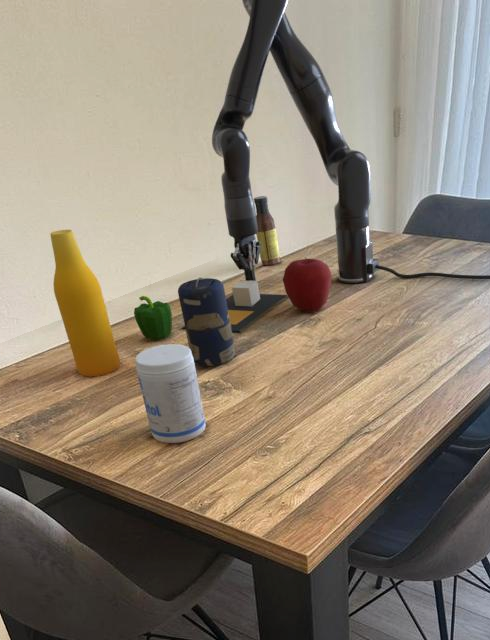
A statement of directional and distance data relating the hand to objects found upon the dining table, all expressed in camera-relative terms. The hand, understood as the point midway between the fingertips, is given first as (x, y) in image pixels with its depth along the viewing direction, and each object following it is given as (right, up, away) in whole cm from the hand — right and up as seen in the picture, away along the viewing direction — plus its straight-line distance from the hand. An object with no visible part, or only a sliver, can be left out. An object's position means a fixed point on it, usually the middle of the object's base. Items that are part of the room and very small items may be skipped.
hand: (251, 283), depth 179 cm
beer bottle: (-30, -28, -31) cm, 51 cm away
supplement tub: (-5, -45, -60) cm, 75 cm away
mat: (-3, -9, -5) cm, 11 cm away
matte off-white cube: (-1, -5, -1) cm, 5 cm away
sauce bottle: (+2, +17, +35) cm, 39 cm away
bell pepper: (-20, -18, -16) cm, 32 cm away
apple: (+16, -10, -8) cm, 21 cm away
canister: (-4, -27, -32) cm, 42 cm away
